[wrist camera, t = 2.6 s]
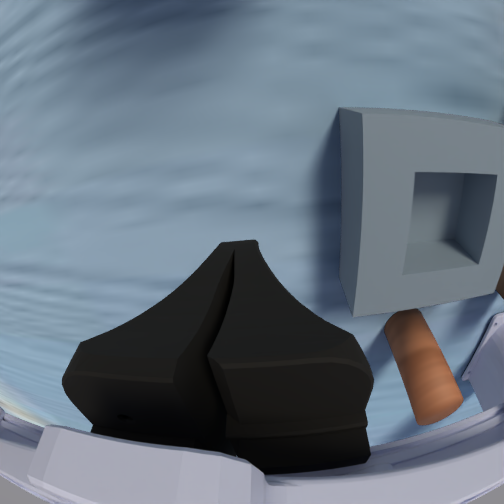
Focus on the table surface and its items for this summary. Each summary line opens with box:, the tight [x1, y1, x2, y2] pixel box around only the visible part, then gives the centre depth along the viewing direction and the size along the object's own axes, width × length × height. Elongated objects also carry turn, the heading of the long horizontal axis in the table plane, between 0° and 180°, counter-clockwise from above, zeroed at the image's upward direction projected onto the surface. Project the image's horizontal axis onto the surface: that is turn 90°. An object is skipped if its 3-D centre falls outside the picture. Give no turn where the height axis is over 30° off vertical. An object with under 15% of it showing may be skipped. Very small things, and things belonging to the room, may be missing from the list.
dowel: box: [384, 309, 463, 425], centre depth 17 cm, size 3×3×8 cm
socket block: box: [339, 107, 504, 317], centre depth 14 cm, size 10×10×4 cm
